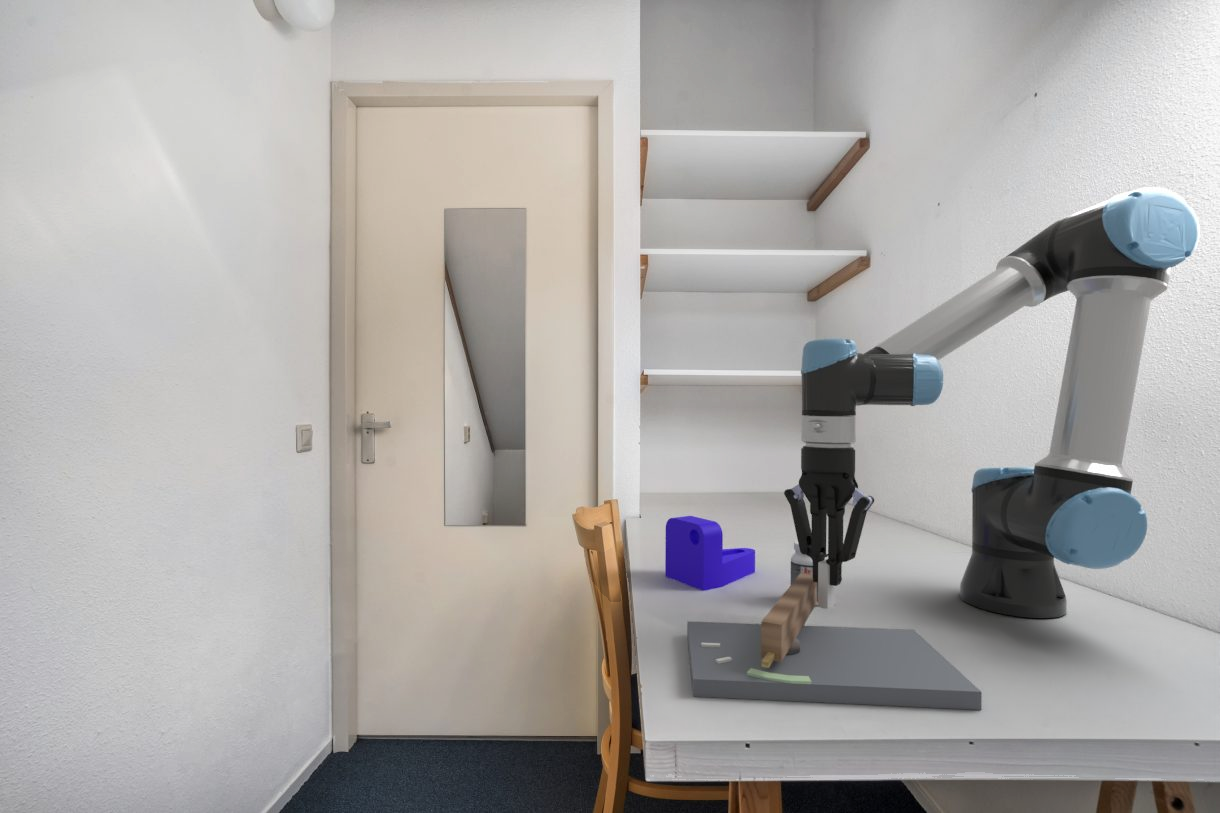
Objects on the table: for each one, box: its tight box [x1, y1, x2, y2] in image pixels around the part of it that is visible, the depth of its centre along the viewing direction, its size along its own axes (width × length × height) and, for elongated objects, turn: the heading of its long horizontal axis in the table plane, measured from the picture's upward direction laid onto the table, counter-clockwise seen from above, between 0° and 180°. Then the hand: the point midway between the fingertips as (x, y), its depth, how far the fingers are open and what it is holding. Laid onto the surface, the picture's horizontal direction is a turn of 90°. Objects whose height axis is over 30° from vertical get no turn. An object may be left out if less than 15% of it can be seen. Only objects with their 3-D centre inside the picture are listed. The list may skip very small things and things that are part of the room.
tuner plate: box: [686, 621, 983, 711], centre depth 80 cm, size 32×19×2 cm, turn 85°
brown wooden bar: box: [760, 573, 817, 668], centre depth 84 cm, size 28×4×5 cm, turn 153°
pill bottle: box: [790, 540, 818, 606], centre depth 107 cm, size 6×6×10 cm
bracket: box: [664, 515, 756, 592], centre depth 122 cm, size 18×11×12 cm, turn 124°
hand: (826, 605), depth 92 cm, fingers closed
